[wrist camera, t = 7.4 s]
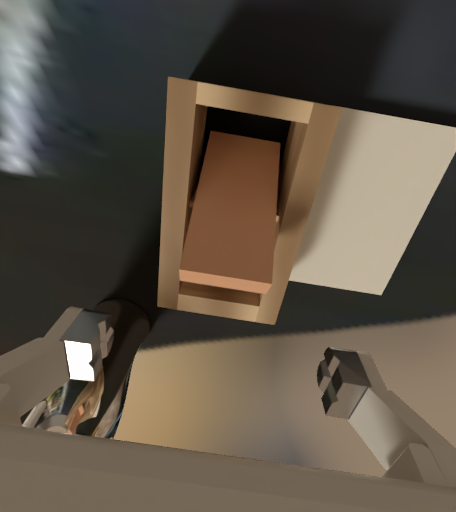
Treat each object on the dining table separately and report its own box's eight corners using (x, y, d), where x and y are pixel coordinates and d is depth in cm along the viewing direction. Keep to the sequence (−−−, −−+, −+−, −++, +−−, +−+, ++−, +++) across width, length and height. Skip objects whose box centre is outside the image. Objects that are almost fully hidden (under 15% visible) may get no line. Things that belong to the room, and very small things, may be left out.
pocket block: (173, 265, 28) (157, 306, 22) (188, 79, 20) (168, 76, 15) (269, 280, 28) (274, 324, 23) (317, 102, 20) (342, 107, 15)
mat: (282, 273, 27) (283, 279, 26) (332, 105, 20) (335, 106, 20) (377, 288, 28) (381, 295, 27) (457, 127, 21) (466, 129, 20)
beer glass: (85, 334, 33) (-22, 498, 20) (93, 286, 29) (-29, 445, 16) (147, 352, 33) (84, 520, 20) (161, 307, 30) (97, 474, 17)
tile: (180, 288, 18) (179, 269, 16) (209, 159, 23) (210, 130, 21) (261, 301, 18) (272, 284, 16) (271, 170, 23) (280, 142, 21)
